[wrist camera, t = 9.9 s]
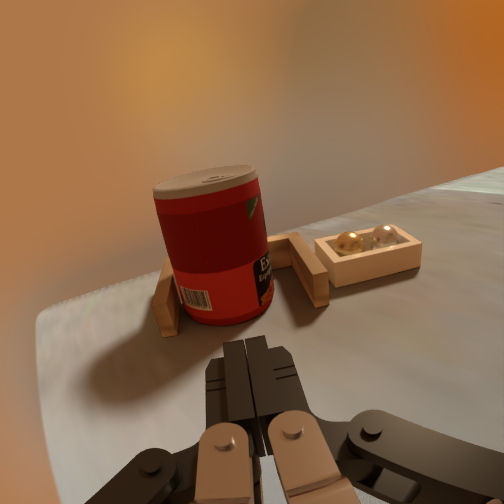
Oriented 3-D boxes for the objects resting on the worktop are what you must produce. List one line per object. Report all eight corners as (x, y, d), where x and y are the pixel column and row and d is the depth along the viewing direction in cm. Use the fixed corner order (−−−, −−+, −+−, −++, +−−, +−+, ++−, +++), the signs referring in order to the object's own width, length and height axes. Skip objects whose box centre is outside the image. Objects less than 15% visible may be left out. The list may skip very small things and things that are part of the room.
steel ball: (389, 246, 31) (390, 218, 29) (404, 257, 28) (405, 228, 27) (364, 251, 30) (364, 223, 29) (378, 264, 28) (378, 233, 26)
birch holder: (300, 258, 33) (297, 231, 32) (329, 304, 24) (327, 271, 23) (173, 283, 32) (165, 257, 31) (162, 337, 24) (150, 305, 22)
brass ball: (357, 253, 30) (356, 224, 29) (371, 265, 28) (370, 235, 26) (330, 259, 30) (328, 230, 29) (341, 272, 27) (340, 241, 26)
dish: (392, 245, 32) (392, 224, 31) (420, 266, 27) (422, 243, 26) (315, 261, 32) (314, 239, 31) (335, 287, 26) (334, 262, 26)
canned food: (285, 315, 24) (265, 172, 20) (184, 337, 23) (143, 198, 19) (265, 273, 31) (247, 161, 27) (186, 290, 30) (157, 179, 26)
